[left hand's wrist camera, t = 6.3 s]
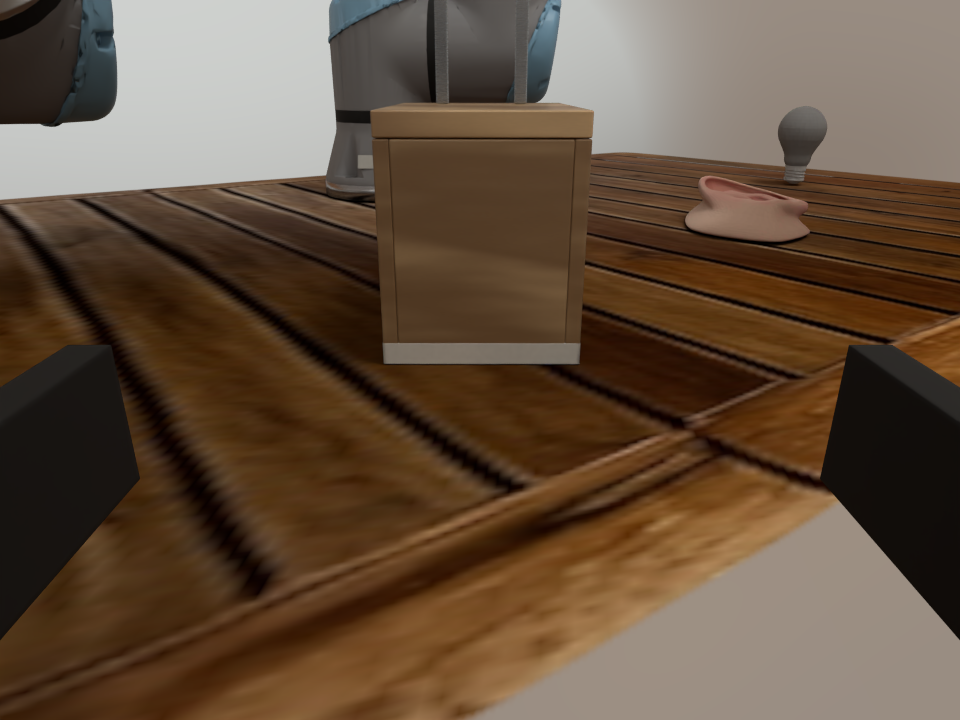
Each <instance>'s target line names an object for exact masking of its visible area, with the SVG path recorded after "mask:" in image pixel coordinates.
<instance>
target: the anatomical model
mask: <svg viewBox="0 0 960 720" xmlns="http://www.w3.org/2000/svg"><path fill="white" fill-rule="evenodd" d="M698 188H699V192H700V194H701V196H702V198H703V201H702V202H701V203H700V204H699V205H698V206H696V207H695V208H694V209H692V210H691V211H690V212H689V213H688V214H687V216H686V218H685V222H686V225H687V226H688V227H689V228H690V229H692V230H694V231H697V232H700V233H704V234H709V235H715V236H721V237H727V238H735V239H743V240H751V241H761V242H783V241H789V240H793V239H797V238H800V237H803V236H805V235H807V234H809V233H810V231H809V229H808V228H807V227H806V226H805V225H804V224H803V223H801V221H800V220H799V216H800V215H802V214H803V213H805V212H806V211H807V209H808V203H806V202H804V201H802V200H798V199H794V198H790V197H787V196H783V195H780V194H777V193H774V192H771V191H767V190H764V189H760V188H756V187H753V186H749V185H746V184H742V183H739V182H735V181H731V180H728V179H724V178H720V177H714V176H705V177H702V178H701V179H700V180H699V184H698Z"/></svg>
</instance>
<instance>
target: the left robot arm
mask: <svg viewBox="0 0 960 720" xmlns="http://www.w3.org/2000/svg"><path fill="white" fill-rule="evenodd" d="M113 34H114V30H113V11H112V2H111V0H0V124H41V125H43V126H49V127H56V126H59V125H60V124H62V123H68V122H83V121H95V120H99V119H101V118H103V117H105V116H106V115H108V114H109V113H110V112H111V110H112V109H113V107H114V105H115V101H116V96H117V61H116V48H115V42H114V39H113ZM139 479H140V477H139V472H138V467H137V463H136V458H135V454H134V449H133V444H132V440H131V435H130V431H129V426H128V421H127V417H126V412H125V408H124V403H123V398H122V394H121V389H120V385H119V380H118V375H117V371H116V366H115V362H114V357H113V352H112V348H111V345H67V346H66V347H64V348H62V349H61V350H59V351H58V352H56V353H54V354H53V355H51V356H50V357H48V358H46V359H45V360H43V361H42V362H40V363H38V364H37V365H35V366H34V367H32V368H31V369H29V370H27V371H26V372H24V373H23V374H21V375H19V376H18V377H16V378H15V379H13V380H11V381H10V382H8V383H7V384H5V385H3V386H2V387H0V640H1V639H2V637H3V636H4V635H5V634H6V633H7V632H8V630H9V629H10V628H11V627H12V626H13V625H14V624H15V622H16V621H17V620H18V619H19V618H20V617H21V615H22V614H23V613H24V612H25V611H26V610H27V609H28V607H29V606H30V605H31V604H32V603H33V602H34V600H35V599H36V598H37V597H38V596H39V595H40V594H41V592H42V591H43V590H44V589H45V588H46V587H47V585H48V584H49V583H50V582H51V581H52V580H53V579H54V577H55V576H56V575H57V574H58V573H59V572H60V570H61V569H62V568H63V567H64V566H65V565H66V564H67V562H68V561H69V560H70V559H71V558H72V557H73V555H74V554H75V553H76V552H77V551H78V550H79V549H80V547H81V546H82V545H83V544H84V543H85V542H86V540H87V539H88V538H89V537H90V536H91V535H92V534H93V532H94V531H95V530H96V529H97V528H98V527H99V525H100V524H101V523H102V522H103V521H104V520H105V519H106V517H107V516H108V515H109V514H110V513H111V512H112V510H113V509H114V508H115V507H116V506H117V505H118V503H119V502H120V501H121V500H122V499H123V498H124V497H125V495H126V494H127V493H128V492H129V491H130V490H131V488H132V487H133V486H134V485H135V484H136V483H137V482H138V480H139ZM820 479H821V480H822V482H823V483H824V484H825V485H826V486H827V487H828V488H829V490H830V491H831V492H832V493H833V494H834V495H835V497H836V498H837V499H838V500H839V501H840V502H841V503H842V505H843V506H844V507H845V508H846V509H847V510H848V512H849V513H850V514H851V515H852V516H853V517H854V518H855V520H856V521H857V522H858V523H859V524H860V525H861V527H862V528H863V529H864V530H865V531H866V532H867V534H868V535H869V536H870V537H871V538H872V539H873V540H874V542H875V543H876V544H877V545H878V546H879V547H880V548H881V550H882V551H883V552H884V553H885V554H886V555H887V557H888V558H889V559H890V560H891V561H892V562H893V564H894V565H895V566H896V567H897V568H898V569H899V570H900V572H901V573H902V574H903V575H904V576H905V577H906V579H907V580H908V581H909V582H910V583H911V584H912V585H913V587H914V588H915V589H916V590H917V591H918V592H919V594H920V595H921V596H922V597H923V598H924V599H925V600H926V602H927V603H928V604H929V605H930V606H931V607H932V608H933V610H934V611H935V612H936V613H937V614H938V615H939V617H940V618H941V619H942V620H943V621H944V622H945V623H946V625H947V626H948V627H949V628H950V629H951V630H952V632H953V633H954V634H955V635H956V636H957V637H958V638H959V640H960V387H958V386H957V385H955V384H953V383H952V382H950V381H949V380H947V379H945V378H944V377H942V376H941V375H939V374H937V373H936V372H934V371H933V370H931V369H929V368H928V367H926V366H925V365H923V364H922V363H920V362H918V361H917V360H915V359H914V358H912V357H910V356H909V355H907V354H906V353H904V352H902V351H901V350H899V349H898V348H896V347H894V346H893V345H849V348H848V352H847V357H846V362H845V366H844V371H843V375H842V380H841V385H840V389H839V394H838V398H837V403H836V408H835V412H834V417H833V421H832V426H831V431H830V435H829V440H828V444H827V449H826V454H825V458H824V463H823V467H822V472H821V477H820Z"/></svg>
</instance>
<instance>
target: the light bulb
mask: <svg viewBox="0 0 960 720" xmlns="http://www.w3.org/2000/svg"><path fill="white" fill-rule="evenodd" d="M826 131H827V123H826V119H825V117H824V116H823V114H822V113H821V112H820V111H819V110H817V109H815V108H813V107H809V106H803V107H799V108H796V109H793V110H792V111H790V112H789V113H788V114H787V115H786V116H785V117H784V118H783V120H782V121H781V123H780V125H779V129H778V137H779V141H780V143H781V146H782V148H783V151H784V162H785V164H786V165H785V166H786V167H785V169H786V171H785V172H786V173H785V174H784V175H785V177H784V180H786V181H787V182H788V183H794V184H795V183H799V182H801V181H803V180H804V179H803V177H805V176H804V174H805V173H804V171H806V167H807V165H808V163H809V162H810V159H811V156H812V154H813V153H814V151H815V150H816V148H817V147H818V146H819V145H820V143H821V142H822V141H823V139H824V137H825V135H826Z"/></svg>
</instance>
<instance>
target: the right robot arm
mask: <svg viewBox="0 0 960 720" xmlns="http://www.w3.org/2000/svg"><path fill="white" fill-rule="evenodd" d="M447 8H448V74H449V103H514V80H515V26H516V0H447ZM560 8H561V0H529V29H528V69H527V103H536V102H538V101H540V100H541V99H542V98H543V97H544V95H545V94H546V91H547V88H548V84H549V80H550V75H551V70H552V65H553V59H554V53H555V47H556V41H557V34H558V27H559V19H560ZM329 26H330V36H329V38H328V42H329V44H330V49H331V62H332V74H333V87H334V100H335V111H336V126H337V130H336V136H335V140H334V144H333V149H332V153H331V157H330V162H329V166H328V170H327V175H326V191H327V194H328V195H329V196H331V197H335V198H340V199H347V200H359V201H375V189H374V171H373V153H372V139H374V138H373V137H372V135H371V117H370V111H371V110H375V109H379V108H384V107H388V106H392V105H397V104H401V103H436V63H435V16H434V0H332V2H331V4H330V8H329Z"/></svg>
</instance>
